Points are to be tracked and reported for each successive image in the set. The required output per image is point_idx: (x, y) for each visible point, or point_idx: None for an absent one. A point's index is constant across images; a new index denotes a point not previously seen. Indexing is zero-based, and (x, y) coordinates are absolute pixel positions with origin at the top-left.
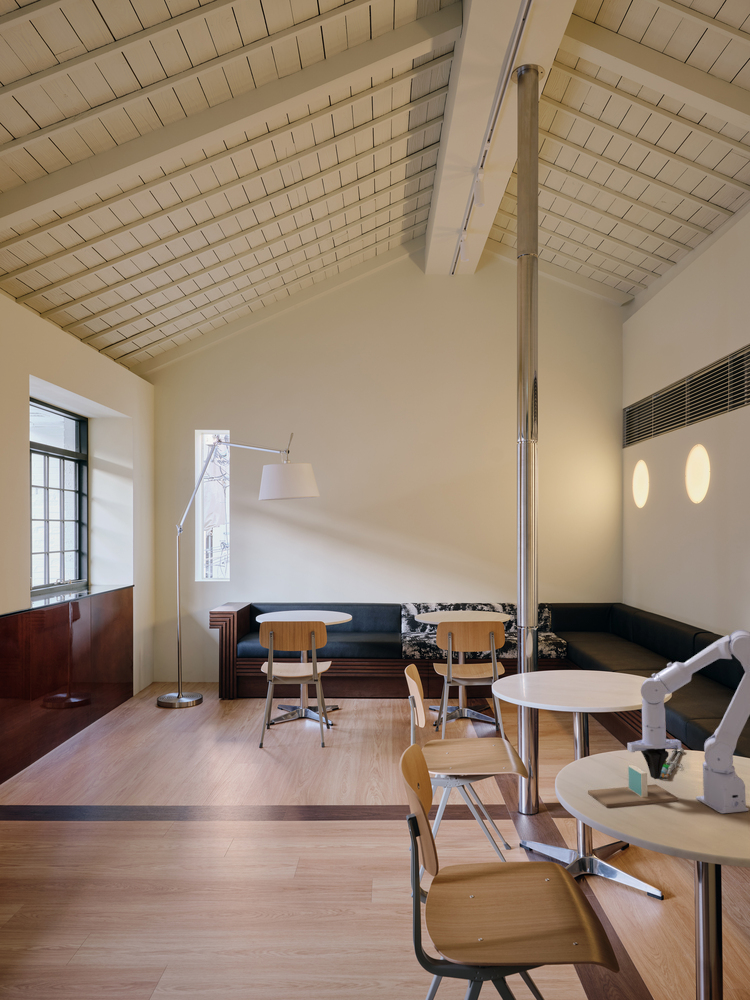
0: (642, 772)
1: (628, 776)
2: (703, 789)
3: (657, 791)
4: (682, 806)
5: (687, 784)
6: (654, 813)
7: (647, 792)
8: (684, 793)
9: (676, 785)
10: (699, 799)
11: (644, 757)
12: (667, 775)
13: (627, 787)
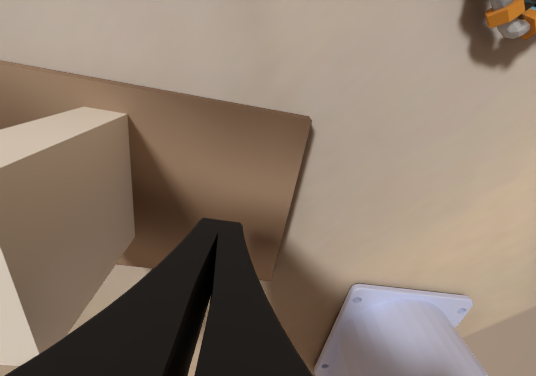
0: (2, 352)
1: (15, 127)
2: (375, 353)
3: (233, 205)
4: None
5: (507, 148)
6: (94, 315)
7: (124, 250)
8: (370, 227)
9: (442, 137)
10: (345, 306)
11: (48, 352)
12: (527, 31)
13: (83, 90)
